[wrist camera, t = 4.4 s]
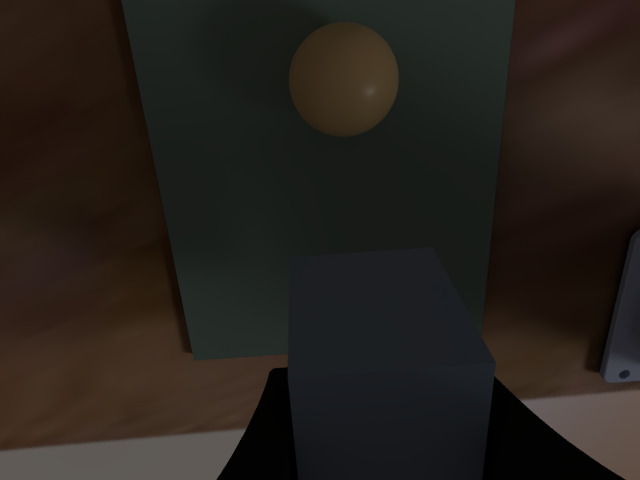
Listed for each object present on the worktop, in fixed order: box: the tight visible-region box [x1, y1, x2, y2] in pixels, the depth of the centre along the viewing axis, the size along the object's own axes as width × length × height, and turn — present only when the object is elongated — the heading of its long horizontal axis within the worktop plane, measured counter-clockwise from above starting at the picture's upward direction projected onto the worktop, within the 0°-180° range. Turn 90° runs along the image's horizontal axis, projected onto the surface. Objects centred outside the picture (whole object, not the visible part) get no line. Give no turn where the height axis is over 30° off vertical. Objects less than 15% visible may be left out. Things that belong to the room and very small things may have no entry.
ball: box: [289, 22, 399, 137], centre depth 17 cm, size 4×4×4 cm
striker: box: [288, 247, 496, 480], centre depth 13 cm, size 4×6×5 cm, turn 3°
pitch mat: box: [121, 0, 515, 360], centre depth 18 cm, size 13×26×1 cm, turn 3°
